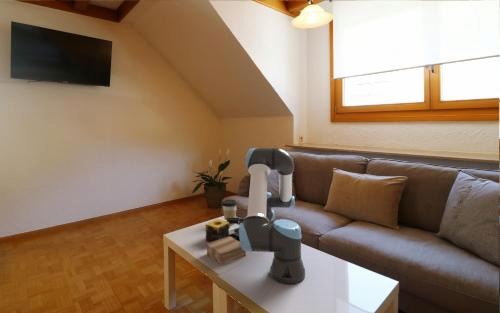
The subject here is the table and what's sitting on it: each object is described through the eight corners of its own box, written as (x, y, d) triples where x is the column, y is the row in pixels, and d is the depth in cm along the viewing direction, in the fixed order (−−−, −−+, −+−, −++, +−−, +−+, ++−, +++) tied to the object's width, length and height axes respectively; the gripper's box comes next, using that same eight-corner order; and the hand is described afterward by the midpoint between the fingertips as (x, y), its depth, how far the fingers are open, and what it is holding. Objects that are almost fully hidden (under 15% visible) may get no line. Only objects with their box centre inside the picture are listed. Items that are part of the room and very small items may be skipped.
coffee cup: (240, 222, 179) (240, 200, 177) (231, 227, 170) (231, 204, 168) (228, 219, 184) (227, 198, 182) (219, 224, 176) (218, 202, 174)
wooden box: (245, 256, 134) (245, 245, 134) (221, 266, 126) (221, 254, 125) (230, 246, 145) (229, 236, 145) (207, 254, 137) (206, 243, 136)
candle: (218, 245, 146) (217, 228, 145) (205, 241, 152) (204, 224, 151) (230, 239, 154) (230, 222, 153) (217, 234, 160) (217, 218, 159)
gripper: (265, 232, 157) (234, 242, 145) (242, 219, 177) (213, 227, 166) (265, 219, 156) (233, 228, 144) (242, 208, 176) (212, 215, 165)
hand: (222, 228), depth 155 cm, fingers open, 13 cm apart
